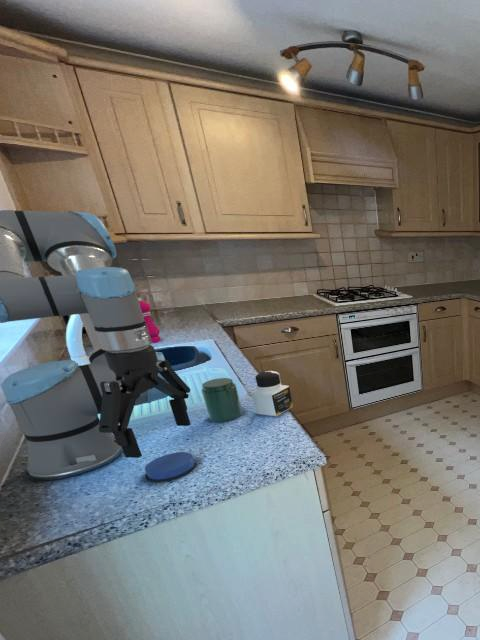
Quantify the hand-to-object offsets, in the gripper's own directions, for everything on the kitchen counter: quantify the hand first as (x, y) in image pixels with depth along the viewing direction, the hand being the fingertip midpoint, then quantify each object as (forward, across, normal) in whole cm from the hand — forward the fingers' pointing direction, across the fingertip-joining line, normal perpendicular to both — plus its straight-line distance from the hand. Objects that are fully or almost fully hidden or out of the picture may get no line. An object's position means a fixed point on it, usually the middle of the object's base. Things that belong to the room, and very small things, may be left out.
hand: (160, 439), depth 89 cm
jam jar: (+8, +28, +6) cm, 29 cm away
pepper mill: (+11, +102, +88) cm, 135 cm away
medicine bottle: (+8, +32, -6) cm, 33 cm away
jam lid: (+6, 0, 0) cm, 6 cm away
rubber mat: (+8, 0, 0) cm, 8 cm away
